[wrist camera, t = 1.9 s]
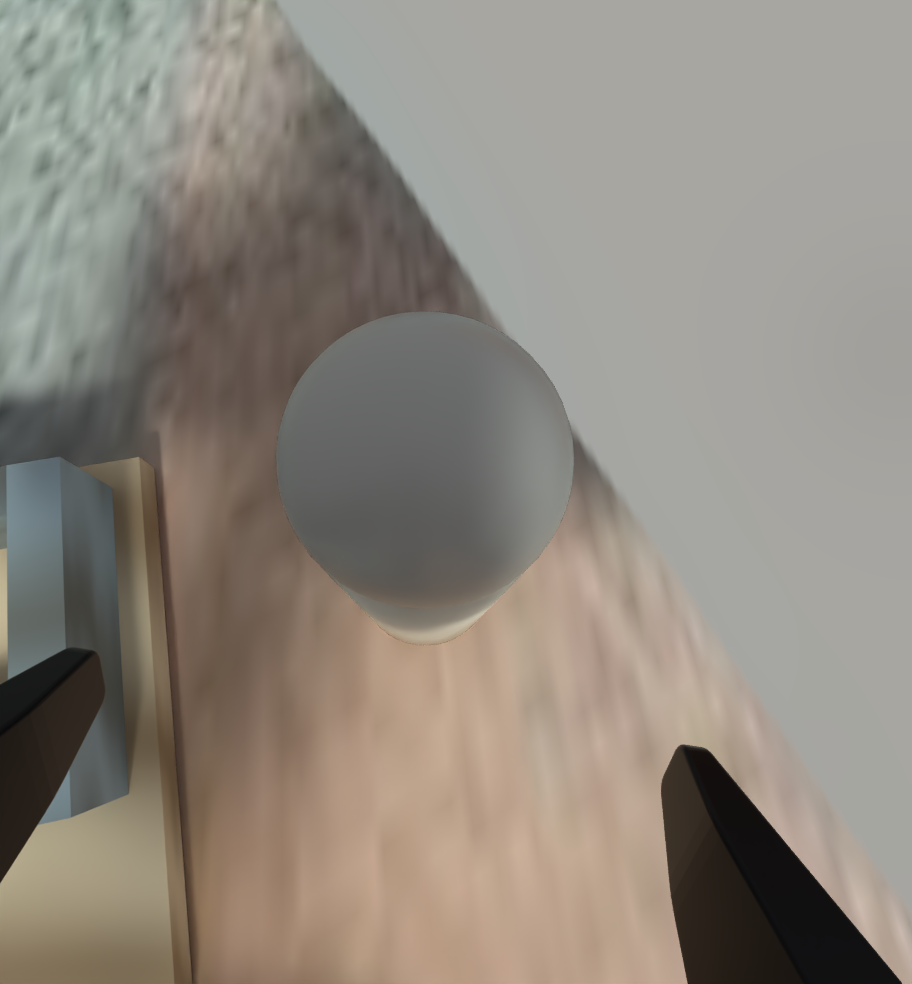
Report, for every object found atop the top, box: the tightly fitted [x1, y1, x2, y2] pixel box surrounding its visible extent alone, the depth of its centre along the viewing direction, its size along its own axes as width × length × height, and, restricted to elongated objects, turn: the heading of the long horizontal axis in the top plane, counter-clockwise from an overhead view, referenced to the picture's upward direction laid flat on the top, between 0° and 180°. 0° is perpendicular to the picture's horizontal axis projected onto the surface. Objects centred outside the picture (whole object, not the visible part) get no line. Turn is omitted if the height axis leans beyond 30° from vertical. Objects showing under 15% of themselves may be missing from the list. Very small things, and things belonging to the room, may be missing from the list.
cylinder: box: [276, 311, 574, 645], centre depth 14 cm, size 4×4×14 cm
